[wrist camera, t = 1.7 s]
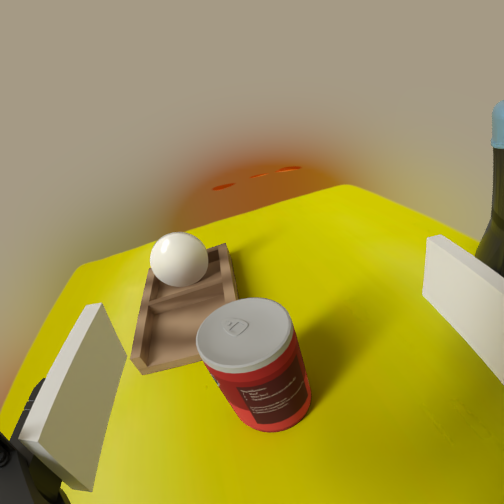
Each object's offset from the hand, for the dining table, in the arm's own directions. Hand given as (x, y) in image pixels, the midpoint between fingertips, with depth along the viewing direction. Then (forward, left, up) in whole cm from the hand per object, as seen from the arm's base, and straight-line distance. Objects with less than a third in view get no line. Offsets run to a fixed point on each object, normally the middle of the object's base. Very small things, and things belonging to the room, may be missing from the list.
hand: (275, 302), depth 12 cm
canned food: (-5, -9, -20) cm, 22 cm away
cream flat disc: (-16, -32, -19) cm, 41 cm away
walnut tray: (-13, -29, -20) cm, 37 cm away
